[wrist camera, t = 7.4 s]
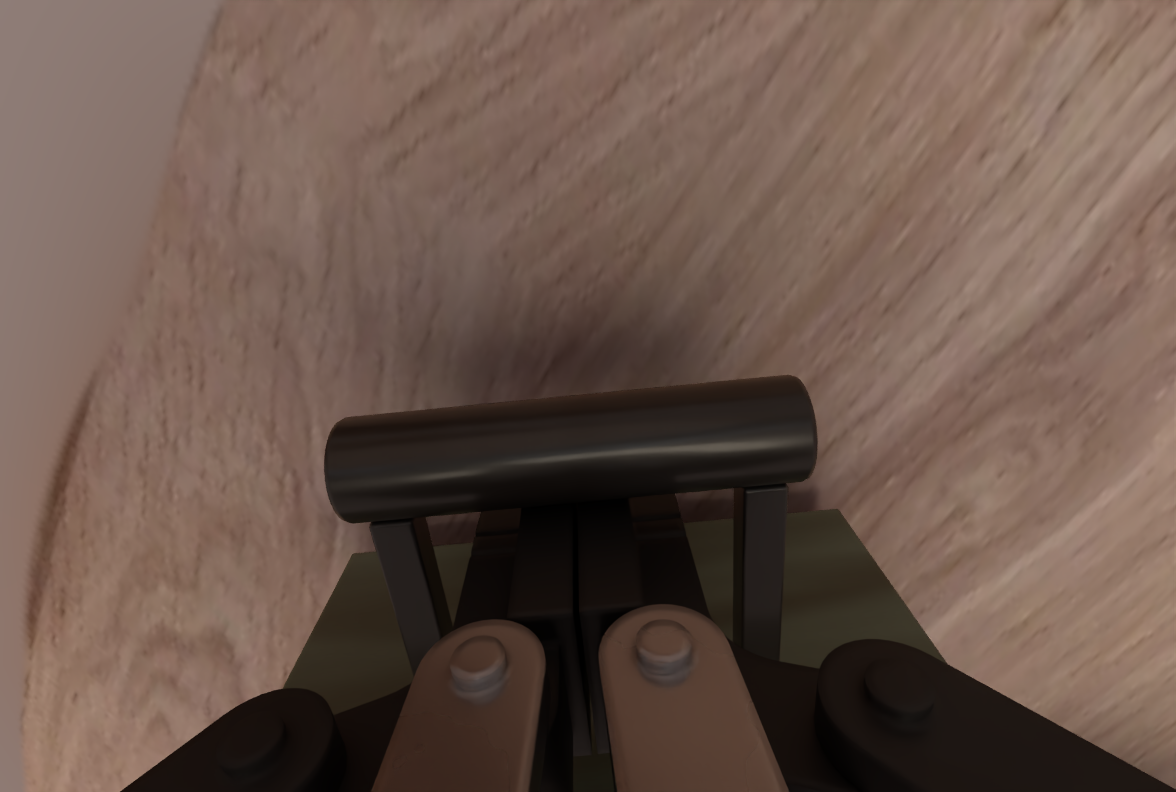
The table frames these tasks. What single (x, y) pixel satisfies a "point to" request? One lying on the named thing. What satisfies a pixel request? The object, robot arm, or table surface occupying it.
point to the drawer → (582, 474)
